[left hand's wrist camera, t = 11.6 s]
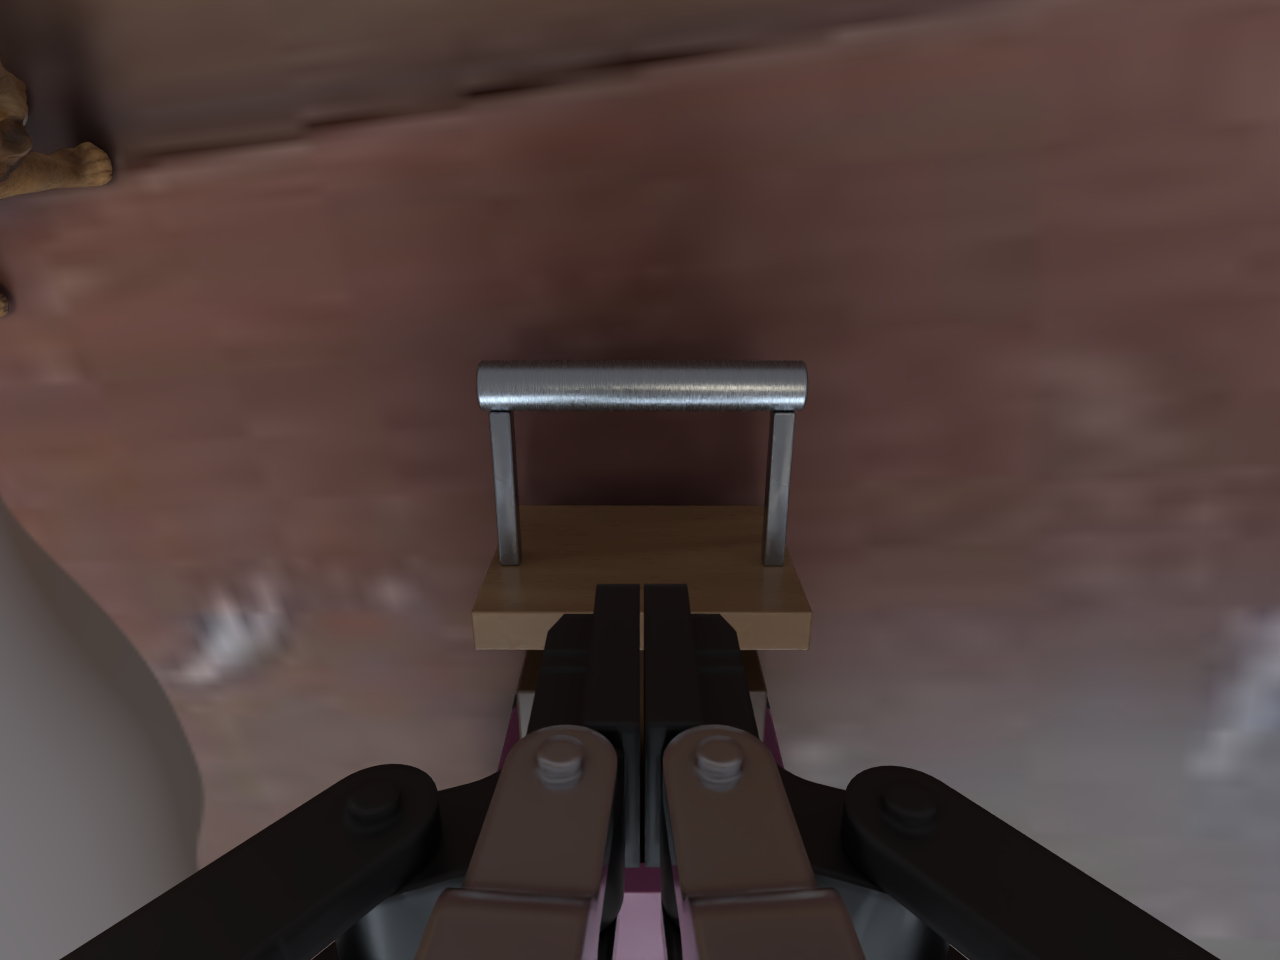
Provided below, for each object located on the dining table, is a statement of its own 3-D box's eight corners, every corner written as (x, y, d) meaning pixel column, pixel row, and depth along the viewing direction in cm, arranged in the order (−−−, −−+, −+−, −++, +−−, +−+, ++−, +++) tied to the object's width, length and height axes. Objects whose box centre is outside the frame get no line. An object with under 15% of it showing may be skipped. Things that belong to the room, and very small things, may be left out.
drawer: (501, 331, 24) (449, 387, 18) (781, 332, 24) (834, 387, 18) (539, 905, 34) (514, 1083, 27) (741, 905, 34) (767, 1084, 27)
